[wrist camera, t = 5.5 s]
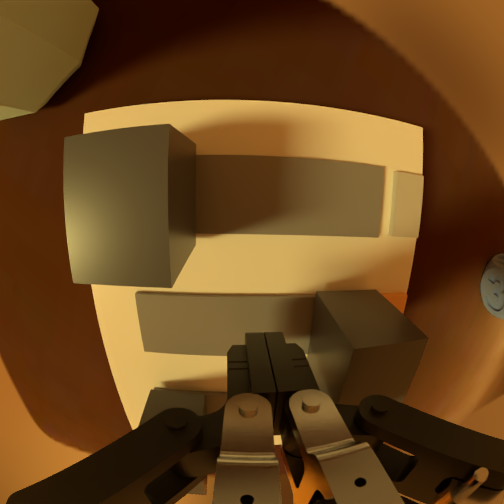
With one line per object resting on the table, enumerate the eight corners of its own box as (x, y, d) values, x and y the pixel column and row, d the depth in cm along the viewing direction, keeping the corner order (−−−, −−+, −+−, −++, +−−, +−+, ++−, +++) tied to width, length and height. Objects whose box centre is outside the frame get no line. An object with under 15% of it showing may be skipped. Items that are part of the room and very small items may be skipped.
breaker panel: (397, 132, 13) (427, 126, 10) (349, 411, 18) (361, 436, 16) (106, 121, 12) (80, 112, 9) (143, 413, 18) (134, 441, 15)
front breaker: (196, 144, 10) (169, 123, 6) (195, 245, 11) (171, 287, 7) (124, 148, 10) (64, 137, 6) (127, 244, 11) (73, 283, 7)
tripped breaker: (375, 289, 12) (428, 337, 8) (360, 358, 13) (395, 416, 9) (316, 291, 12) (353, 349, 8) (305, 363, 13) (329, 430, 9)
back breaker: (204, 393, 13) (197, 461, 9) (209, 436, 14) (206, 495, 10) (150, 389, 13) (130, 452, 9) (162, 432, 14) (150, 488, 10)
